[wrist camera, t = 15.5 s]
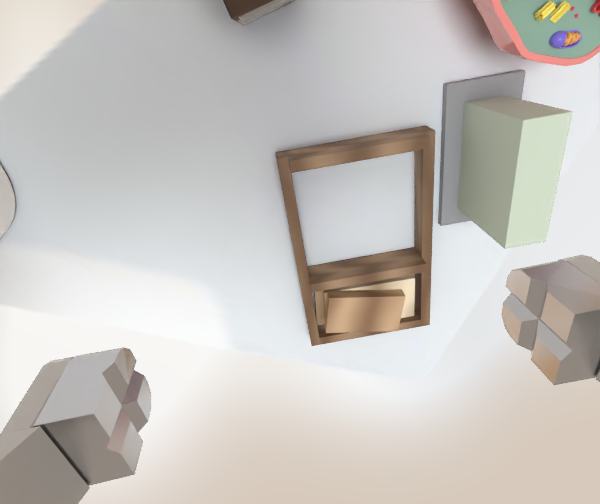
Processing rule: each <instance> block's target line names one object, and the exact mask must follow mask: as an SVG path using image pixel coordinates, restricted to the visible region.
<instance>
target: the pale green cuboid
mask: <svg viewBox="0 0 600 504" xmlns="http://www.w3.org/2000/svg"><path fill="white" fill-rule="evenodd" d="M571 116H572V111H568V110H563V109H559V108H555V107H550V106H546V105H542V104H537V103H533V102H529V101H524V100H520V99H516V98H511V97H507V96H503V95H502V96H496V97H491V98H485V99H480V100H474V101H469V102H464V115H463V130H462V145H461V161H460V176H459V191H458V207H457V208H458V209H459V210H460V211H461V212H463V213H464V214H465V215H466V216H467V217H468V218H470V219H471V220H472V221H473V222H474V223H475V224H477V225H478V226H479V227H480V228H481V229H482V230H484V231H485V232H486V233H487V234H488V235H489V236H491V237H492V238H493V239H494V240H495V241H496V242H498V243H499V244H500V245H501V246H502V247H503V248H505V249H507V248H512V247H518V246H523V245H529V244H534V243H540V242H545V241H546V237H547V232H548V228H549V223H550V218H551V213H552V208H553V204H554V199H555V194H556V189H557V184H558V180H559V175H560V170H561V165H562V160H563V155H564V150H565V146H566V141H567V136H568V131H569V126H570V121H571Z"/></svg>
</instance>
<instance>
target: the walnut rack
mask: <svg viewBox="0 0 600 504" xmlns="http://www.w3.org/2000/svg"><path fill="white" fill-rule="evenodd" d="M411 151H415V247H414V248H408V249H403V250H397V251H392V252H386V253H381V254H375V255H369V256H364V257H358V258H353V259H347V260H342V261H336V262H331V263H325V264H319V265H314V266H308V267H307V263H306V257H305V252H304V246H303V240H302V234H301V228H300V222H299V217H298V211H297V205H296V199H295V193H294V187H293V182H292V176H291V173H294V172H299V171H305V170H310V169H316V168H322V167H327V166H333V165H338V164H344V163H349V162H355V161H361V160H366V159H372V158H377V157H383V156H388V155H394V154H400V153H405V152H411ZM434 156H435V130H433V129H431V128H429V127H427V126H422V127H416V128H411V129H405V130H400V131H394V132H388V133H383V134H377V135H372V136H366V137H361V138H355V139H349V140H344V141H338V142H333V143H327V144H322V145H316V146H310V147H305V148H299V149H294V150H288V151H283V152H277V153H276V158H277V163H278V169H279V174H280V179H281V185H282V190H283V195H284V201H285V206H286V211H287V217H288V222H289V227H290V233H291V238H292V243H293V249H294V254H295V259H296V265H297V270H298V275H299V281H300V286H301V291H302V297H303V302H304V307H305V313H306V318H307V323H308V329H309V334H310V339H311V344H312V346H315V345H320V344H326V343H331V342H337V341H342V340H348V339H353V338H359V337H364V336H370V335H375V334H381V333H386V332H392V331H376V332H346V333H326V331H325V327H324V325H318V326H317V322H316V316H315V310H314V304H313V298H312V293H313V292H318V291H324V290H329V289H335V288H340V287H346V286H352V285H357V284H363V283H368V282H374V281H379V280H385V279H390V278H396V277H401V276H407V275H413V274H415V303H414V316H411V317H405V318H401V320H400V324H399V329H398V330H403V329H409V328H414V327H420V326H425V325H430V292H431V258H432V224H433V190H434ZM310 286H311V287H310ZM311 291H312V292H311Z"/></svg>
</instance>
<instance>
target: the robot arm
mask: <svg viewBox="0 0 600 504" xmlns="http://www.w3.org/2000/svg"><path fill="white" fill-rule="evenodd" d="M14 214H15V197H14V192H13V189H12V186H11V183H10V181H9V179H8V177H7V175H6V173H5V171H4V170H3V168H2V167H1V165H0V238H1V237H2V236H3V234H4V233H5V232H6V231H7V230H8V228H9V227H10V225H11V223H12V221H13V218H14ZM506 287H507V288H508V289H509V291H510V292H511V294H510V296H508V298H507V299H506V300H505V301H504V302H503V310H502V318H503V322H504V326H505V328H506V330H507V332H508V333H509V335H510V337H511V338H512V339H513V340H514V341H515V342H516V343H517V344H518V345H520V346H522V347H524V348H526V349H529V350H531V360H532V361H533V362H534V364H535V365H536V366H537V367H538V368H539V369H540V370H541V371H542V372H543V373H544V375H545V376H546V377H547V378H548V379H549V380H550V381H551V382H552V383H553V384H554V385H557V384H562V383H568V382H573V381H578V380H584V379H589V378H595V377H597V378H596V380H598V381H600V262H598V261H597V260H595V259H593V258H592V257H589V256H584V255H579V256H574V257H570V258H565V259H561V260H558V261H555V262H550V263H545V264H540V265H535V266H530V267H526V268H520V269H516V270H512V271H511V272H510V274H509V275H508V278H507V283H506ZM135 364H136V359H135V357H134V356H133V354H132V352H131V350H130V349H127V348H119V349H113V350H107V351H102V352H96V353H90V354H85V355H80V356H76V357H70V358H64V359H59V360H54V361H51V362H49V363H47V364H46V365H44V366H43V367H42V369H41V370H40V372H39V374H38V375H37V377H36V378H35V380H34V382H33V383H32V385H31V386H30V388H29V390H28V391H27V393H26V394H25V396H24V398H23V399H22V401H21V402H20V404H19V405H18V407H17V409H16V410H15V412H14V413H13V415H12V417H11V418H10V420H9V422H8V423H7V425H6V426H5V428H4V430H3V431H2V433H1V434H0V504H78V503H79V501H80V500H81V499H82V498H83V496H84V495H85V494H86V492H87V491H88V489H89V485H93V484H97V483H101V482H105V481H110V480H113V479H118V478H122V477H126V476H130V475H134V474H135V470H136V466H137V462H138V458H139V455H140V451H141V447H142V443H143V441H142V439H141V437H140V436H139V434H138V432H139V431H140V430H141V429H142V427H143V426H144V425H145V424H146V423H147V422H148V419H149V415H150V411H151V392H150V389H149V385H148V382H147V380H146V378H145V376H144V375H142V374H140V373H138V372H136V371H135V370H134V367H135Z"/></svg>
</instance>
